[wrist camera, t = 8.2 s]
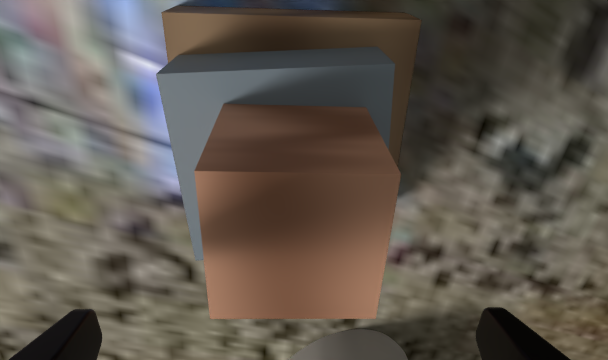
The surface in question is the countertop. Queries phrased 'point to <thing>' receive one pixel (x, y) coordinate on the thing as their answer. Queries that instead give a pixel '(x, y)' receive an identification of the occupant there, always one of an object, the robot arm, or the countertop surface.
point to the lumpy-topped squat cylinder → (352, 347)
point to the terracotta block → (295, 212)
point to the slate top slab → (264, 97)
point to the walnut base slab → (300, 39)
